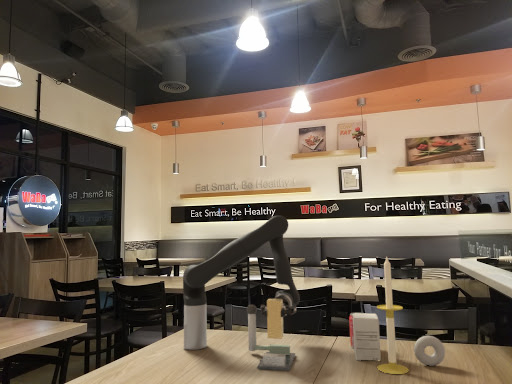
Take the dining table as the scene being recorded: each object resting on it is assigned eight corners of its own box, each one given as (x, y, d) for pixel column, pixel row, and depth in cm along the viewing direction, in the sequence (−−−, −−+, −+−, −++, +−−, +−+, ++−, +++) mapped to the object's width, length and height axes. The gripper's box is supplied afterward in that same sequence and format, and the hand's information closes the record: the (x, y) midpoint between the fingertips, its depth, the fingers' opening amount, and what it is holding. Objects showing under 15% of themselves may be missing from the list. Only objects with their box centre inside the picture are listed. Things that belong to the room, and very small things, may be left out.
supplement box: (354, 353, 149) (352, 312, 151) (378, 354, 147) (376, 313, 149) (355, 360, 140) (353, 317, 142) (381, 361, 139) (378, 318, 140)
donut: (416, 367, 132) (414, 336, 134) (413, 363, 136) (412, 333, 137) (447, 368, 131) (445, 337, 132) (444, 364, 134) (442, 334, 135)
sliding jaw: (248, 348, 153) (248, 303, 155) (291, 350, 150) (290, 304, 151) (245, 353, 148) (244, 306, 150) (289, 355, 144) (288, 307, 146)
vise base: (266, 354, 150) (266, 343, 150) (295, 355, 147) (295, 344, 148) (257, 369, 133) (257, 356, 134) (289, 371, 131) (289, 357, 132)
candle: (394, 363, 137) (388, 254, 141) (415, 372, 128) (408, 255, 132) (370, 366, 133) (365, 255, 137) (390, 376, 124) (384, 257, 128)
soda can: (369, 350, 152) (368, 316, 153) (350, 349, 153) (349, 315, 155) (368, 345, 159) (366, 312, 160) (350, 344, 160) (348, 312, 162)
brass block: (269, 335, 142) (268, 298, 143) (283, 335, 141) (282, 298, 142) (267, 338, 138) (266, 300, 139) (281, 338, 137) (280, 300, 138)
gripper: (263, 294, 156) (253, 302, 140) (299, 295, 153) (293, 303, 137) (263, 314, 155) (254, 324, 139) (299, 315, 152) (294, 325, 136)
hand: (273, 313), depth 138 cm, fingers closed on brass block, 5 cm apart
